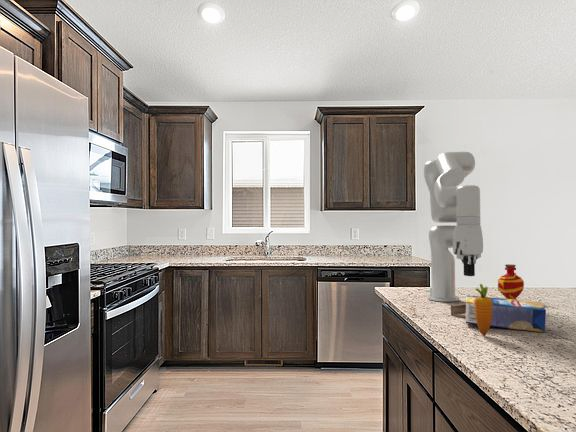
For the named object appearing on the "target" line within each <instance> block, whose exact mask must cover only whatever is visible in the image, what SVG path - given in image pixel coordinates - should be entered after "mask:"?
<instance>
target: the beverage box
mask: <svg viewBox="0 0 576 432" xmlns="http://www.w3.org/2000/svg"><path fill="white" fill-rule="evenodd" d="M480 296H481V295H470V294H469V295H468V294H467V295H466V298H465V301H466V302H465V303H466V319H465V324H468V325H469V324H471V325H477V322H476V317H475V307H474V300H475V298H476V297H480ZM488 297H489V298H490V299H491V300H492V302H493V310H492V320H491V325H490V327H494V328H502V329H511V330H518V331H519V330H520V331H526V332H527V331H528V332H536V333H542V334H545V333H546V320H547V318H546V317H547V309H546V308H545V307H544V305H543V304H542V302H540V301H530V300H521V299H520V300H519V299H517V300H511V299H506V298H499V297H490V296H488ZM477 326H478V325H477Z"/></svg>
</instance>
